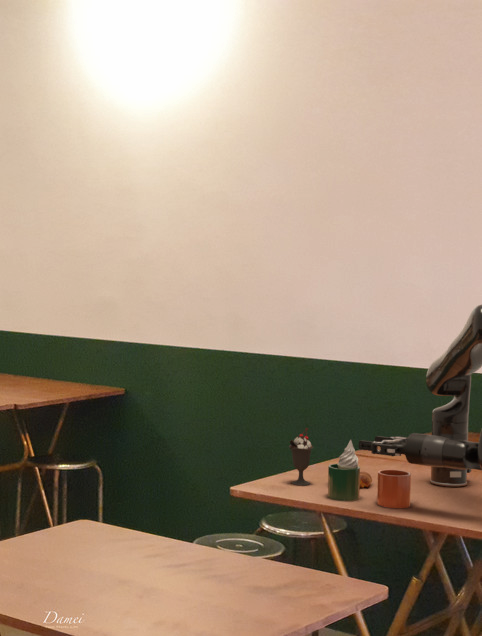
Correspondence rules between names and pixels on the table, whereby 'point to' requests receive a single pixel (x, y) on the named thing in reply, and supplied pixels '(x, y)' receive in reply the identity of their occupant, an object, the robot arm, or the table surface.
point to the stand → (343, 483)
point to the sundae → (301, 456)
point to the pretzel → (365, 479)
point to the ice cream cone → (348, 458)
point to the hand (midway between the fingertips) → (367, 442)
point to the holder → (394, 488)
